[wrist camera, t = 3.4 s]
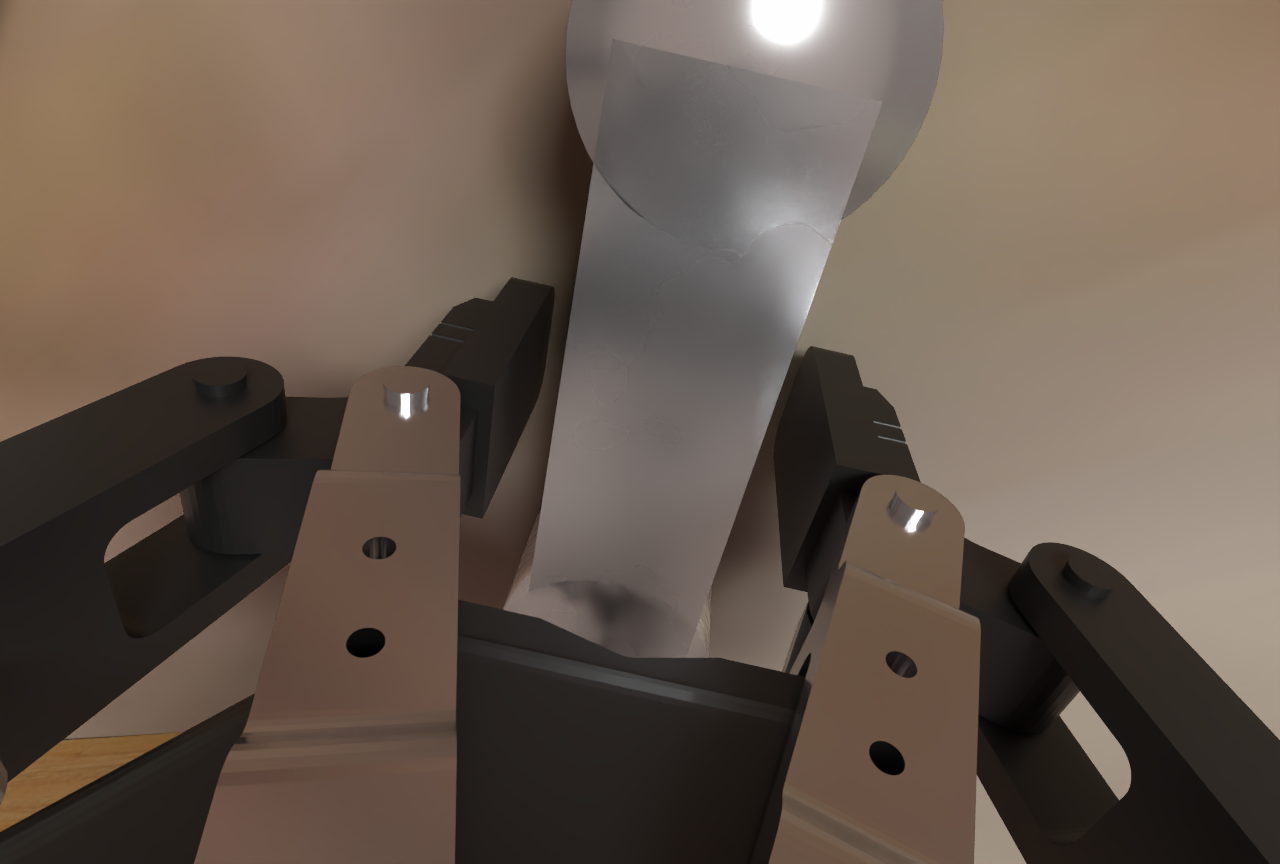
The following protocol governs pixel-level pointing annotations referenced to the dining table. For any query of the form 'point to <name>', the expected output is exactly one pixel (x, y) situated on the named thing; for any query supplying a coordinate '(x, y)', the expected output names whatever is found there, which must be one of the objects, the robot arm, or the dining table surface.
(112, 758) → the tray
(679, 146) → the grey dumbbell
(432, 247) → the dining table surface
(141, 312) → the dining table surface
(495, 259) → the dining table surface
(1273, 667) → the dining table surface
